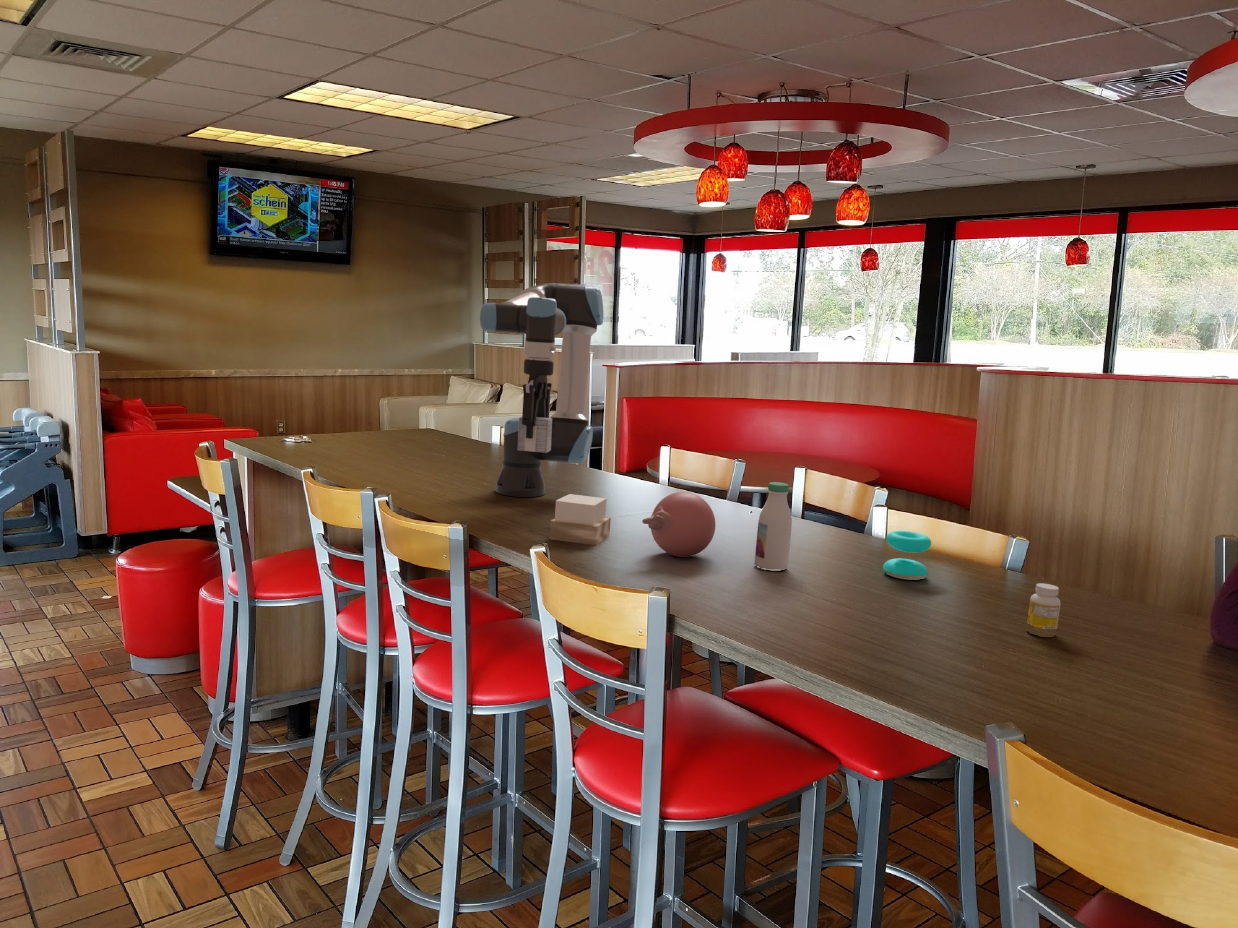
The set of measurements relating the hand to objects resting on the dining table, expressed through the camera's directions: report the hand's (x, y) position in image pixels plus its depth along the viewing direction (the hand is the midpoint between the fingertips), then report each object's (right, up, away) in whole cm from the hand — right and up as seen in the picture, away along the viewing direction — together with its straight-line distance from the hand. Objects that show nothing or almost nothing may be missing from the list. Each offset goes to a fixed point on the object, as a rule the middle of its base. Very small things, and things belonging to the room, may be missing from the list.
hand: (534, 449), depth 237 cm
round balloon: (+35, -26, -19) cm, 47 cm away
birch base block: (+12, -23, -5) cm, 26 cm away
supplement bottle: (+104, -37, -59) cm, 125 cm away
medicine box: (0, -1, 0) cm, 1 cm away
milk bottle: (+57, -28, -23) cm, 68 cm away
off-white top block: (+12, -18, -6) cm, 22 cm away
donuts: (+88, -30, -23) cm, 96 cm away
